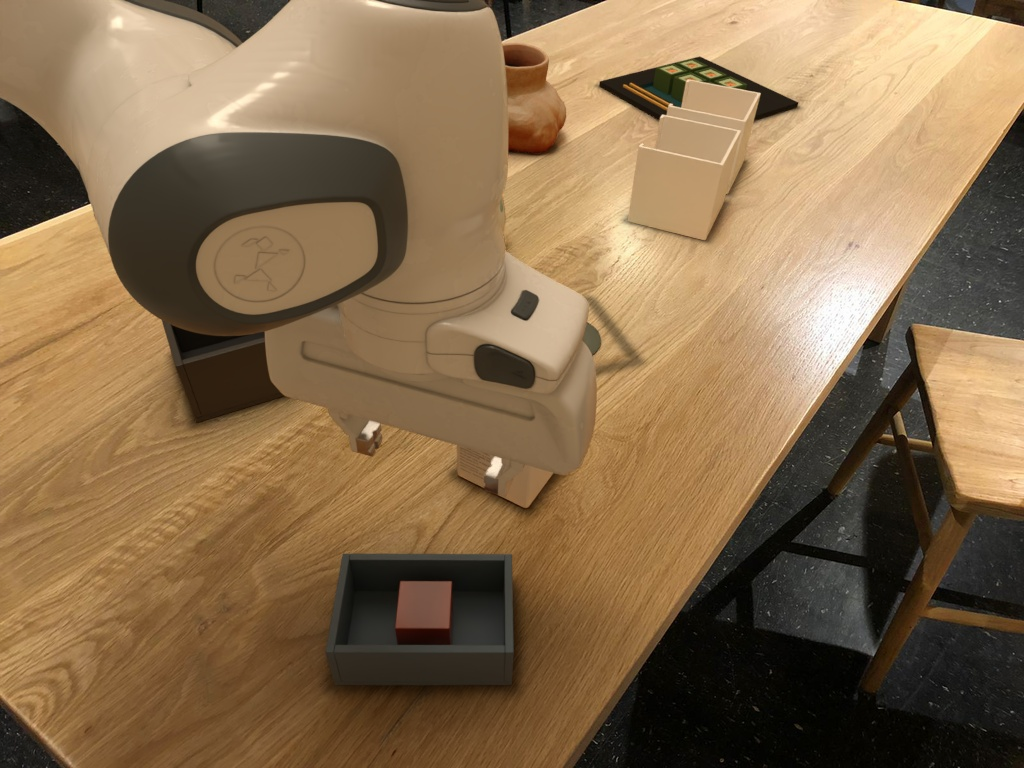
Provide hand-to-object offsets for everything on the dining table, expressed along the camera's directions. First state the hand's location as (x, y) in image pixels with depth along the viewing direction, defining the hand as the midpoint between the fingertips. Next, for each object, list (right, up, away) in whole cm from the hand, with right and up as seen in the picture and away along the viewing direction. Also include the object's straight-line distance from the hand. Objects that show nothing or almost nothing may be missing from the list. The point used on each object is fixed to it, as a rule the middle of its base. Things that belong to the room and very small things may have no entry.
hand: (431, 466), depth 50 cm
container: (+5, -3, +23) cm, 23 cm away
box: (-1, -14, +10) cm, 17 cm away
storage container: (+31, +34, +62) cm, 78 cm away
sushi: (+39, +57, +87) cm, 111 cm away
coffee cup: (+11, +10, +37) cm, 40 cm away
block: (-1, -14, +9) cm, 17 cm away
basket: (-24, +7, +31) cm, 40 cm away
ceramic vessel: (+3, +48, +77) cm, 91 cm away
